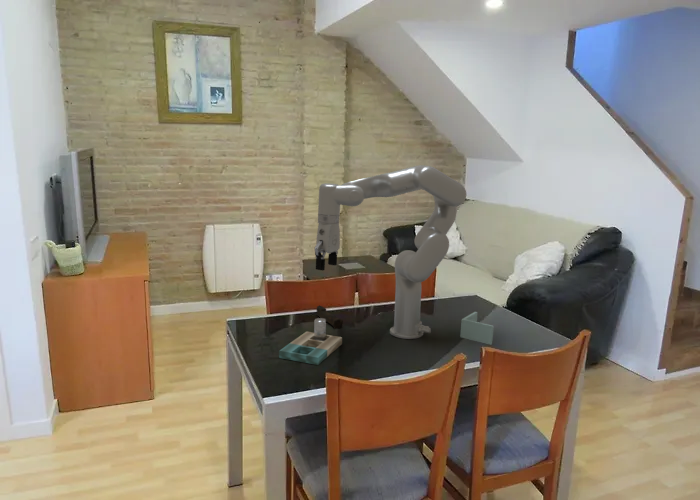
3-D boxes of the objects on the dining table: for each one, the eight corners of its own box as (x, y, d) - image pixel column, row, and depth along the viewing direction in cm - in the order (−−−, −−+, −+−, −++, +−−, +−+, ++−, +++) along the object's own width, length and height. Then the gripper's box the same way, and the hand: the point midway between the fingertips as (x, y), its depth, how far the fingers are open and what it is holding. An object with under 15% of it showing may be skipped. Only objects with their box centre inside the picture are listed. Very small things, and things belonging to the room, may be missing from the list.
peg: (327, 343, 187) (327, 319, 185) (322, 347, 183) (322, 322, 181) (317, 341, 188) (317, 317, 186) (312, 345, 184) (312, 320, 183)
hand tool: (343, 328, 203) (343, 316, 202) (333, 329, 201) (334, 318, 200) (323, 314, 220) (323, 303, 219) (314, 315, 218) (314, 304, 217)
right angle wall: (491, 346, 188) (492, 326, 187) (460, 338, 195) (461, 319, 194) (503, 337, 198) (505, 318, 196) (473, 330, 205) (475, 311, 203)
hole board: (341, 343, 186) (342, 337, 186) (317, 365, 168) (318, 357, 167) (306, 338, 191) (306, 331, 191) (279, 357, 173) (279, 350, 173)
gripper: (327, 223, 173) (324, 273, 177) (348, 218, 189) (346, 264, 192) (307, 220, 176) (305, 270, 180) (329, 216, 192) (327, 261, 195)
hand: (326, 267), depth 186 cm, fingers open, 9 cm apart
